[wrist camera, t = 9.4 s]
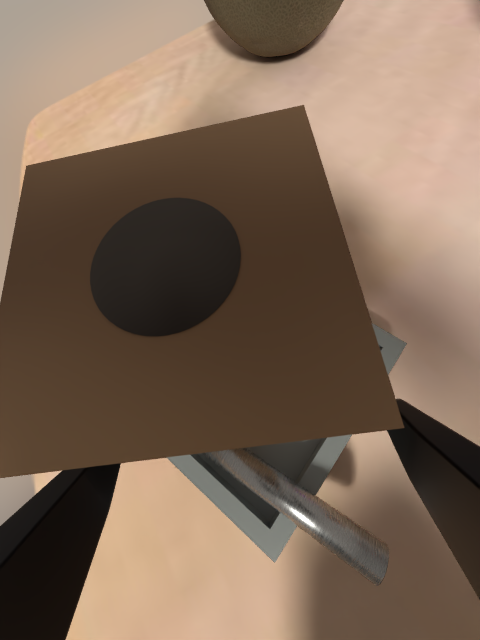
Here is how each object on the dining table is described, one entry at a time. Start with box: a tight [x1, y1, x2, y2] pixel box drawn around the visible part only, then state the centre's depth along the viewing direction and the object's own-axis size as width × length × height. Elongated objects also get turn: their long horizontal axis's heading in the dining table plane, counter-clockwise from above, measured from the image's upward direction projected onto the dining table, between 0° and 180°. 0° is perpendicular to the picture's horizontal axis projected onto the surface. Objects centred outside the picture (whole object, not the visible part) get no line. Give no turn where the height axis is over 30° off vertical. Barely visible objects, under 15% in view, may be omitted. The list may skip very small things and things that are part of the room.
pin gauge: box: [202, 448, 389, 586], centre depth 13 cm, size 10×2×2 cm
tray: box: [167, 323, 407, 563], centre depth 17 cm, size 14×14×2 cm
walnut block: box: [0, 105, 404, 478], centre depth 10 cm, size 5×5×14 cm
